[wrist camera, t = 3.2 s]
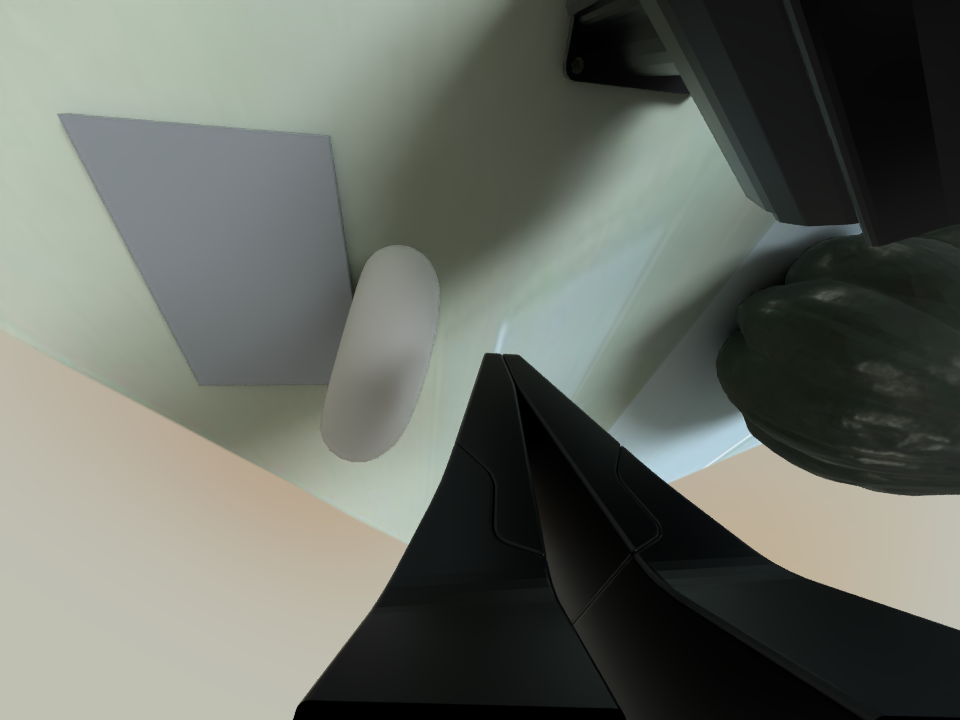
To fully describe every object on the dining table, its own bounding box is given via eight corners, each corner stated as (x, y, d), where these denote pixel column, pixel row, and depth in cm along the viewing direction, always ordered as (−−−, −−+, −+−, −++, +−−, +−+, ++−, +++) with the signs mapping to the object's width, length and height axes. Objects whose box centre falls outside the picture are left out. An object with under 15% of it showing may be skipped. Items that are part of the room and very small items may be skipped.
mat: (330, 136, 15) (328, 136, 15) (365, 380, 24) (364, 384, 23) (65, 113, 14) (56, 113, 14) (202, 380, 22) (199, 385, 22)
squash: (784, 483, 27) (1242, 594, 14) (649, 427, 22) (1164, 514, 8) (813, 316, 30) (1228, 267, 16) (697, 231, 25) (1162, 49, 11)
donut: (395, 371, 24) (376, 513, 16) (341, 358, 22) (292, 503, 15) (448, 231, 18) (460, 339, 10) (382, 204, 17) (341, 302, 9)
